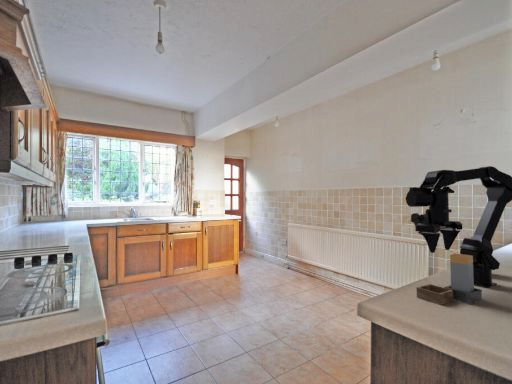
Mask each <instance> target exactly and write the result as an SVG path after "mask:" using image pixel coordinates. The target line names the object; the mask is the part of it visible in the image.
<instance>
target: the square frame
mask: <svg viewBox="0 0 512 384" xmlns="http://www.w3.org/2000/svg"><path fill="white" fill-rule="evenodd" d="M416 298H418V299H422V300H424V301H426V302H427V301H428V302H430V303H434V304H437V305H440V306H442V305H444V304H445V305H446V304H447V303H450V302H453V301H455V300H454V295H453V290H450V289H447V288H444V286H439V285H435V284H432V283H428V284H425V285H421V286H417V287H416Z"/></svg>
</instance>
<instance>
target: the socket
mask: <svg viewBox="0 0 512 384" xmlns="http://www.w3.org/2000/svg"><path fill="white" fill-rule="evenodd" d="M443 288H447V289H450V290H453V295H454V300H453V301H457V302H461V303H464V304H467V305H473V304H475V303H477V302H480V301H482V300H483V292H482V291H483V290H482V289H479V288H476V287H474V291H473V292H470V293H467V292H463V291H459V290H455V289H451V284H450V285H447V286H443Z"/></svg>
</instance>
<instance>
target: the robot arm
mask: <svg viewBox="0 0 512 384" xmlns="http://www.w3.org/2000/svg"><path fill="white" fill-rule="evenodd" d="M424 177H425V178H424V179H423V181H422V182H421V184H420V185H419V187H416V186H413V187H411V186H410V187H409V191H408V192H407V193H406V196H405V202H406V204H407V206H408V207H410V208H414V207H415V208H416V207H418V208H421V207H428V209H425V213H423V214H419V213H417V212H415V213H411V214H410V222H411V223H413V224H414V227H415V229H414V230H415V232H417V233H418V234H419V235H421V236H422V237H423V238H424V240H425V242H426V245H427V247H428V250H429V252H430V253H432V254H434V253H435V251H436V249H437V246H438V244H439V243H438V242H439V239H440V237H441V234H442V239H443V245H444V250H445V251H449V250H451V248H452V246H453V243H454V242H455V239H456V238H457V236H458V235H459V233H461V230H463V223H462V222H461V221H458V220H450V213H452V212H453V211H452V209H450V206H449V204H450V203H449V194H454V193H455V190H454V189H452V188H450V186H451V185H455V184H456V183H458V182H465V181H471V180H478V179H479V180H480V182H481V185H482V186H484V188H485V189H486V192H485V194H486V196H487V203H486V205H485V207H484V210H483V212H482V214H481V217H480V219H479V221H478V224H477V226H476V228H475V230H474V234H473V235H472V236H471V237H470V238H469V237H468V238H467V237H464V238H463V243H462V245H461V246H460V245H459V249H460V248H461V250H459V254H463V255H471V256H473V277H474V286H479V287H484V288H489V289H490V288H492V287H494V286H497V285H498V284H497V283H496V282H493V272H492V271H495V270H499V268H500V266H501V265H500V264H501V263H500V262H499V261H498V260H497V258H496V257H494V256H493V253H494V246H493V245H492V240H493V237H494V235H495V232H496V229H497V227H498V226H499V223H500V220H501V218H502V216H503V213H504V211H505V208H506V206H507V204H510V202H511V201H512V176H511V175H509V174H508V173H505V172H503V171H500V170H499V169H498V168H497V167H495V166H489V165H488V166H482V167H478V168H471V169H464V170H453V169H441V170H440V169H439V170H434V171H433V170H432V171H428V172H427V173H426V174H425V176H424Z"/></svg>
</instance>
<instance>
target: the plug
mask: <svg viewBox="0 0 512 384" xmlns="http://www.w3.org/2000/svg"><path fill="white" fill-rule="evenodd" d="M449 260H450V261H449V262H450V285H451V289H455V290H459V291H463V292H467V293H470V292H473V291H474V288H475V285H474V277H473V256H471V255H463V254H460V253H457V252H456V253H453V254H450V255H449Z"/></svg>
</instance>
